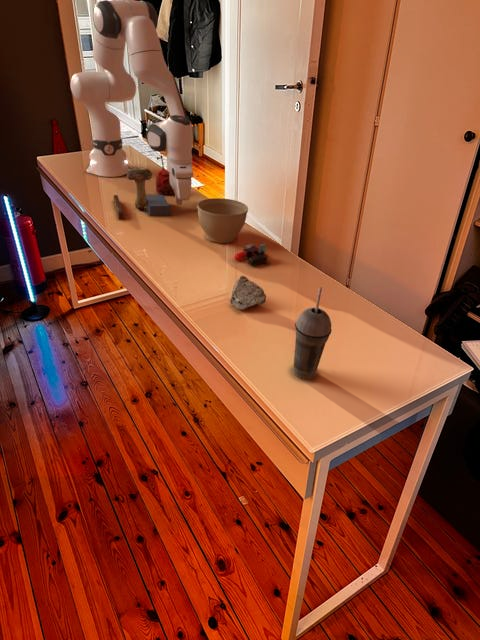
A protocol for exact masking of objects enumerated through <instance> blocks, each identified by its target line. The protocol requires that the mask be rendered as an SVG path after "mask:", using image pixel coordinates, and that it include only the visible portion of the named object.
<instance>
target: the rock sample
mask: <svg viewBox="0 0 480 640" xmlns="http://www.w3.org/2000/svg"><path fill="white" fill-rule="evenodd" d="M266 300H267V294H266V293H265V291H264V289H263V288H262V286H260V285H258V284H257V283H256V282H254V281H252V280H250V279H249V278H248V277H246V275H240V277H239V278H238V279H237V280H236V281H235V283H234V285H233V288H232V290H231V295H230V298H229V303H230V305H232V307H234V308H235V310H247V309H248V308H250V307H253V306H256V305H264V304H265V303H266Z"/></svg>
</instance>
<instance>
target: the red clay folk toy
mask: <svg viewBox="0 0 480 640" xmlns="http://www.w3.org/2000/svg"><path fill="white" fill-rule="evenodd" d="M163 157H164V155H162V152H160V155H159V157H158V156H157V157H156V160H157V161H158V160H161V165H162V166H161V170H158V173H157V175H156V178H155V190H156V193H157V194H158V195H164V196H165V195H173V194H175V191H174V190H173V188H172V186H171V185H170V182H169V174H170V172H168V171H167V169H165V165H164V164H165V162H164V159H163Z"/></svg>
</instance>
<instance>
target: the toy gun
mask: <svg viewBox="0 0 480 640" xmlns="http://www.w3.org/2000/svg"><path fill="white" fill-rule="evenodd" d="M265 250H266V243H264V242H263V243H262V244H261V245H259V246H256V245H254V244H253V243H251V242H250V243H247V245H246V247H245V248H243V250H242V251H240V252H239V251H238V253H236V254H234V257H233V258H234V260H235V261H237V262H238V261H240V260H243V259H245V258H248V264H249V265H250V266H251V267H254V266H258V265H261V264H267V263H268V257H269V255H267V253H265Z"/></svg>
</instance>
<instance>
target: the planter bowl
mask: <svg viewBox="0 0 480 640" xmlns="http://www.w3.org/2000/svg"><path fill="white" fill-rule="evenodd" d="M196 207H197V217H198V221H199V225H200V227H201V229H202V230H203V233H204V234H205V238H206V239H207V240H209V241H211V242H213V243H217V244H227V243H231V242H233V241H235V240H236V237H237V236H238V234H240V233H241V231H242V229H243V227H244V226H245V223H246V221H247V215H248V211H249V206H248V205H246V203H243V202H242V201H239V200H236V199H231V198H220V197H218V198H217V197H214V198H213V197H211V198H204V199H202V200H200V201H199V202H198V203H197V205H196Z"/></svg>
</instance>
